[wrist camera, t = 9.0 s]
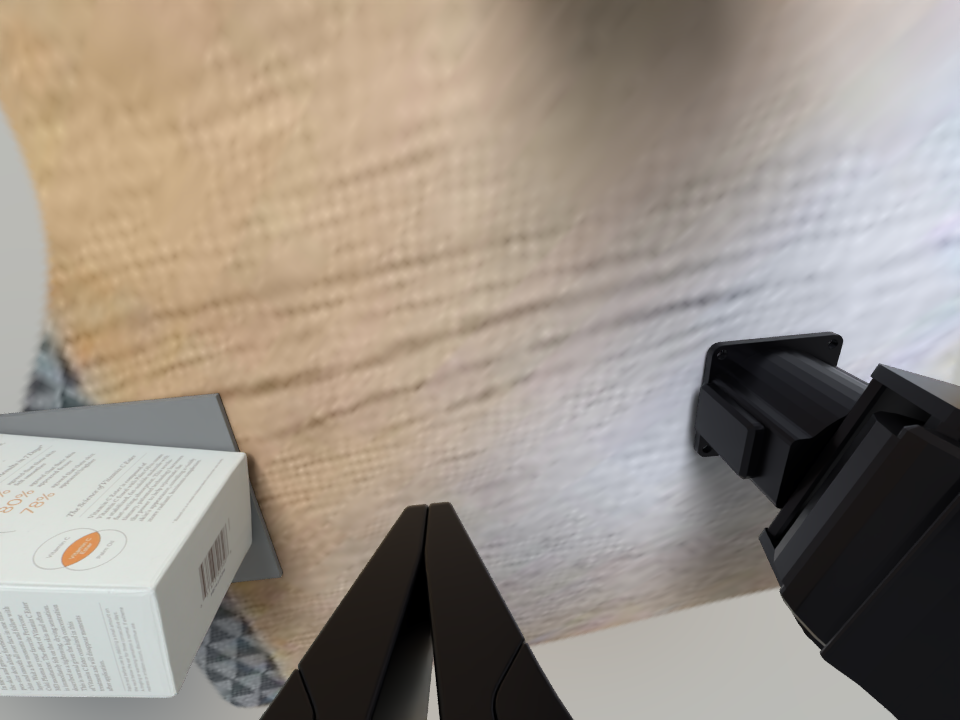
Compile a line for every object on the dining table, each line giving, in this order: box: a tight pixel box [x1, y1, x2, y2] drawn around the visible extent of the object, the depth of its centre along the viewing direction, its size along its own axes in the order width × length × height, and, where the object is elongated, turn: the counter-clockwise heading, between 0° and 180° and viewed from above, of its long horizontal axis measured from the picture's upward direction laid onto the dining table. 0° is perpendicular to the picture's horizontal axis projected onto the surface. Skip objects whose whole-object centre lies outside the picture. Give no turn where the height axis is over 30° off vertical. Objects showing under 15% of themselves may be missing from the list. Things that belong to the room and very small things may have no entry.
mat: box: [0, 393, 283, 583], centre depth 23 cm, size 14×12×1 cm
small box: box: [0, 434, 252, 698], centre depth 19 cm, size 8×6×13 cm
